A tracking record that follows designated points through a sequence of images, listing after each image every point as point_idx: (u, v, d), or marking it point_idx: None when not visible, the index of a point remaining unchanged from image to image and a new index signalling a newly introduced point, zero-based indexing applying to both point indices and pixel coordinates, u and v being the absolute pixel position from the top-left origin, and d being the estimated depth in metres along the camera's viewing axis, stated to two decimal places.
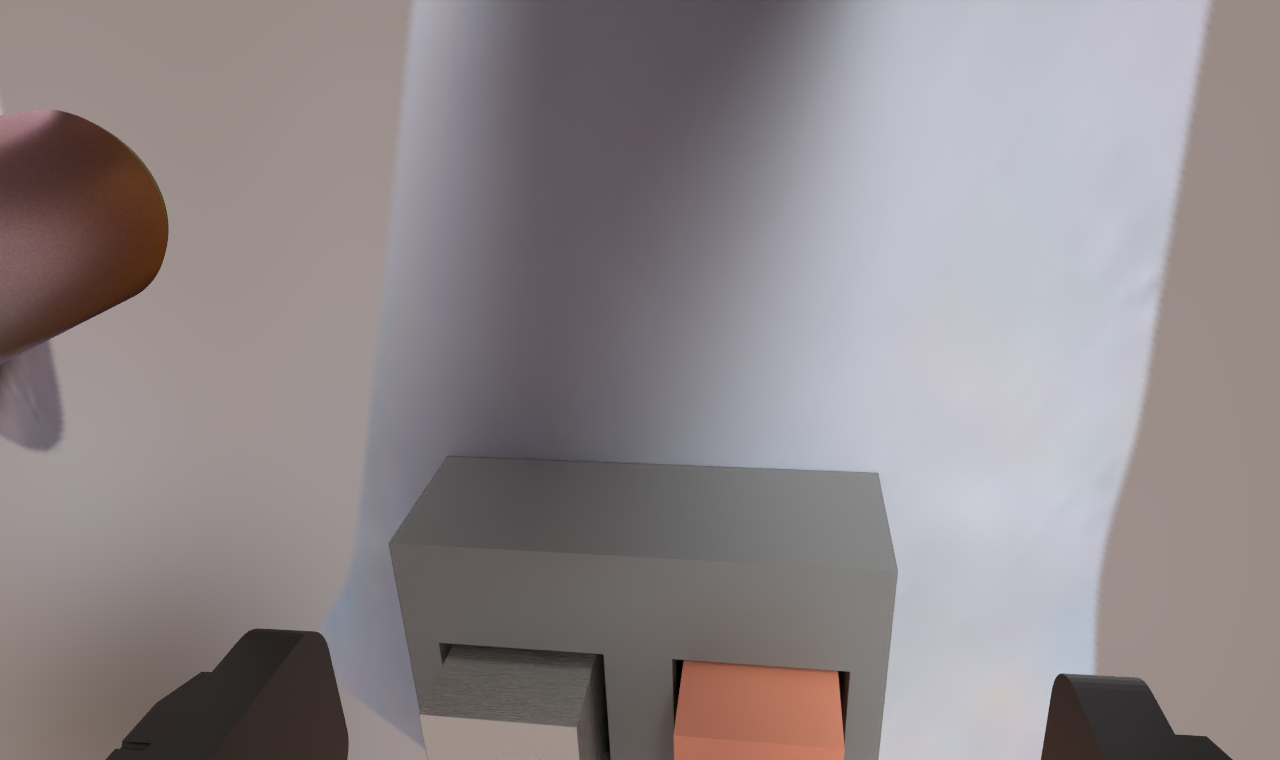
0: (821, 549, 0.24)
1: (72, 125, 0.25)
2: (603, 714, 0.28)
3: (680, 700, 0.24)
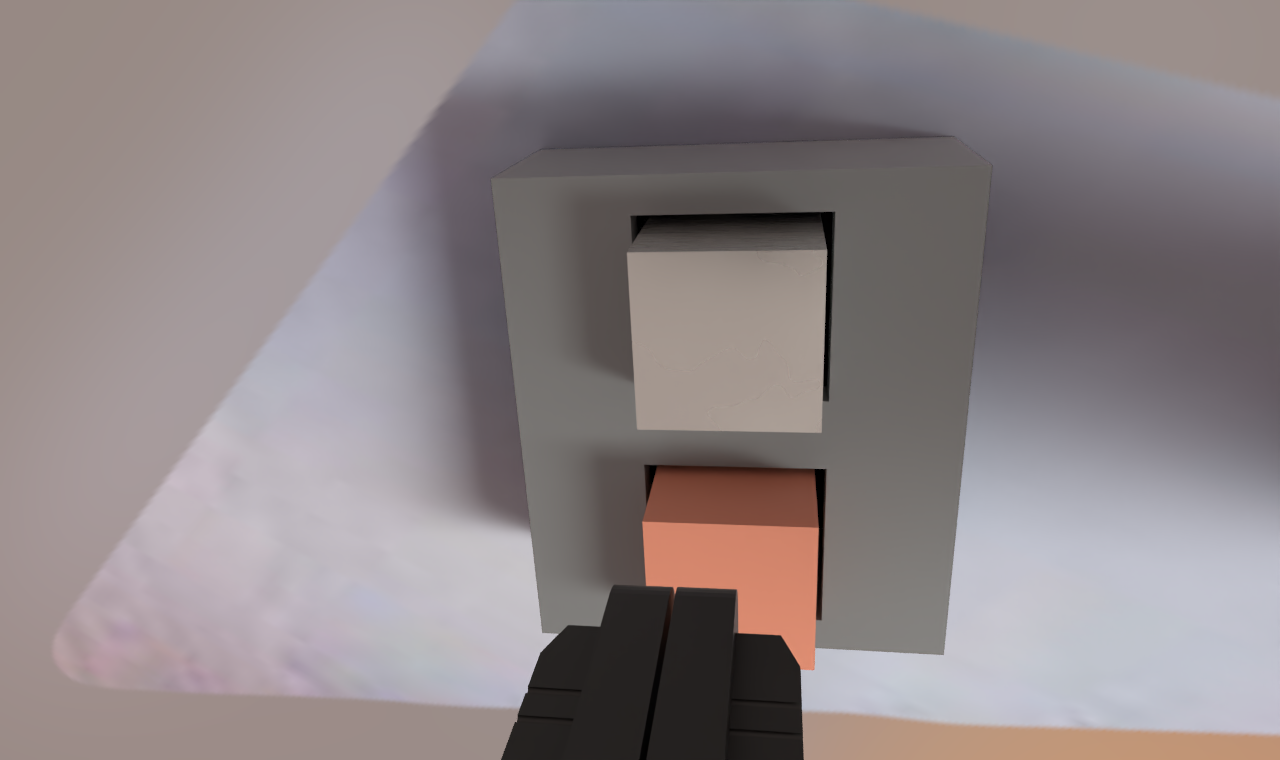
0: None
1: None
2: None
3: (816, 503, 0.23)
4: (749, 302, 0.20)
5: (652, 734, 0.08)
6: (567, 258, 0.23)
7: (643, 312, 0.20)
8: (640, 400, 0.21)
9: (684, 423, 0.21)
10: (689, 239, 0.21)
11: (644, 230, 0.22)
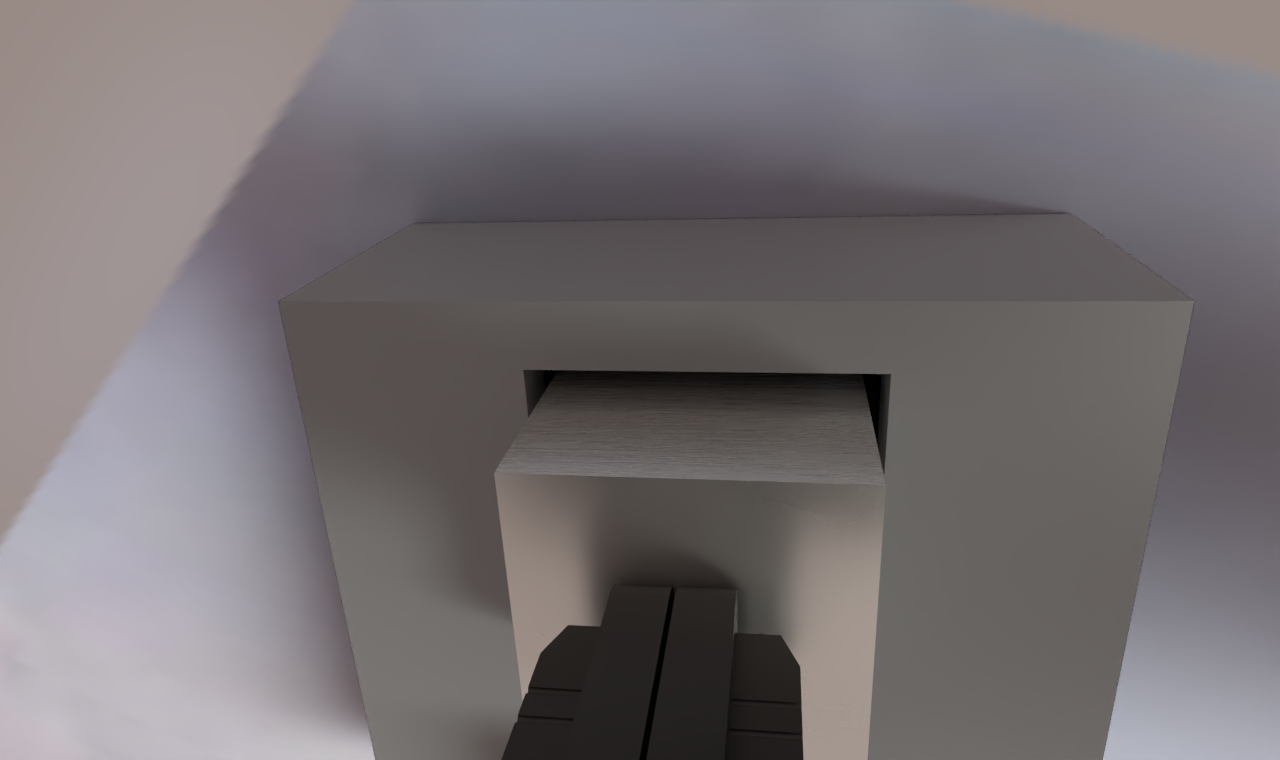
0: None
1: None
2: None
3: None
4: (730, 569, 0.10)
5: (652, 734, 0.08)
6: (419, 435, 0.13)
7: (531, 576, 0.11)
8: None
9: None
10: (621, 432, 0.11)
11: (547, 398, 0.12)
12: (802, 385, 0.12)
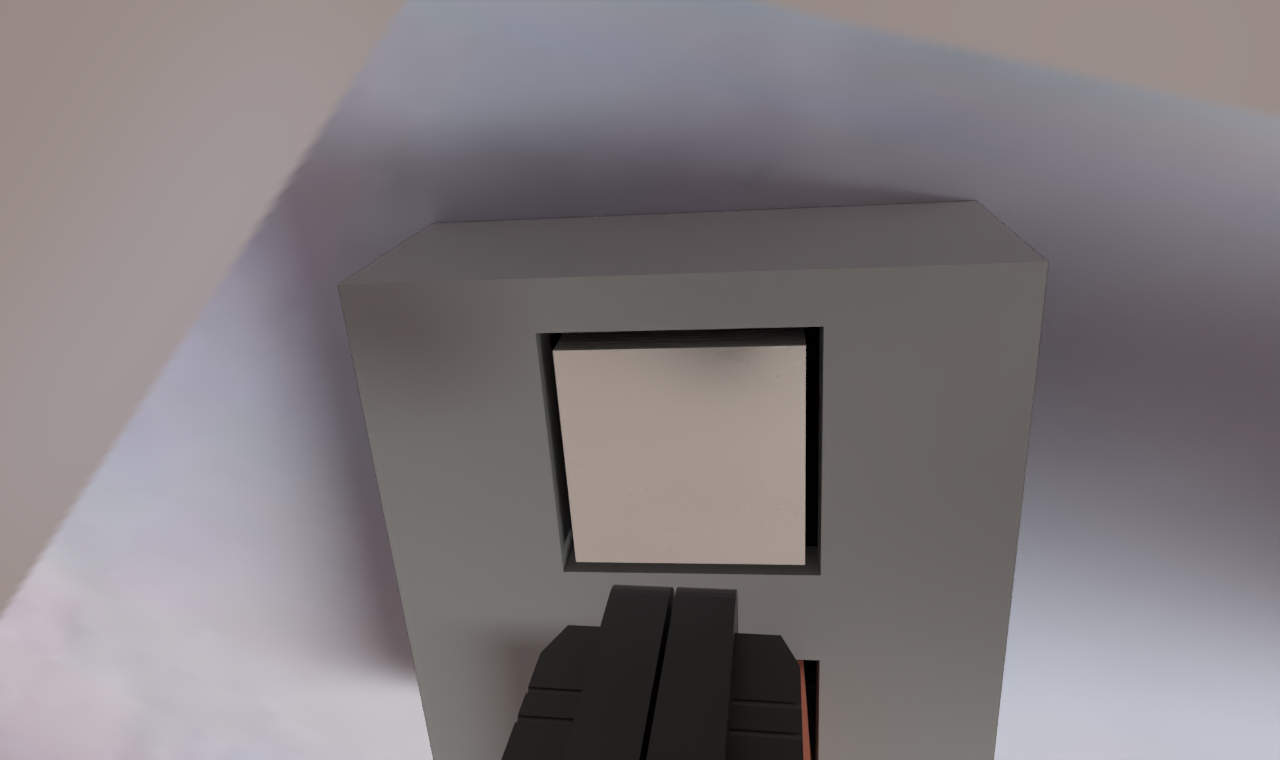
0: None
1: None
2: None
3: (807, 720, 0.17)
4: (709, 409, 0.16)
5: (652, 734, 0.08)
6: (451, 390, 0.16)
7: (577, 422, 0.16)
8: (578, 527, 0.17)
9: (634, 554, 0.17)
10: None
11: None
12: None
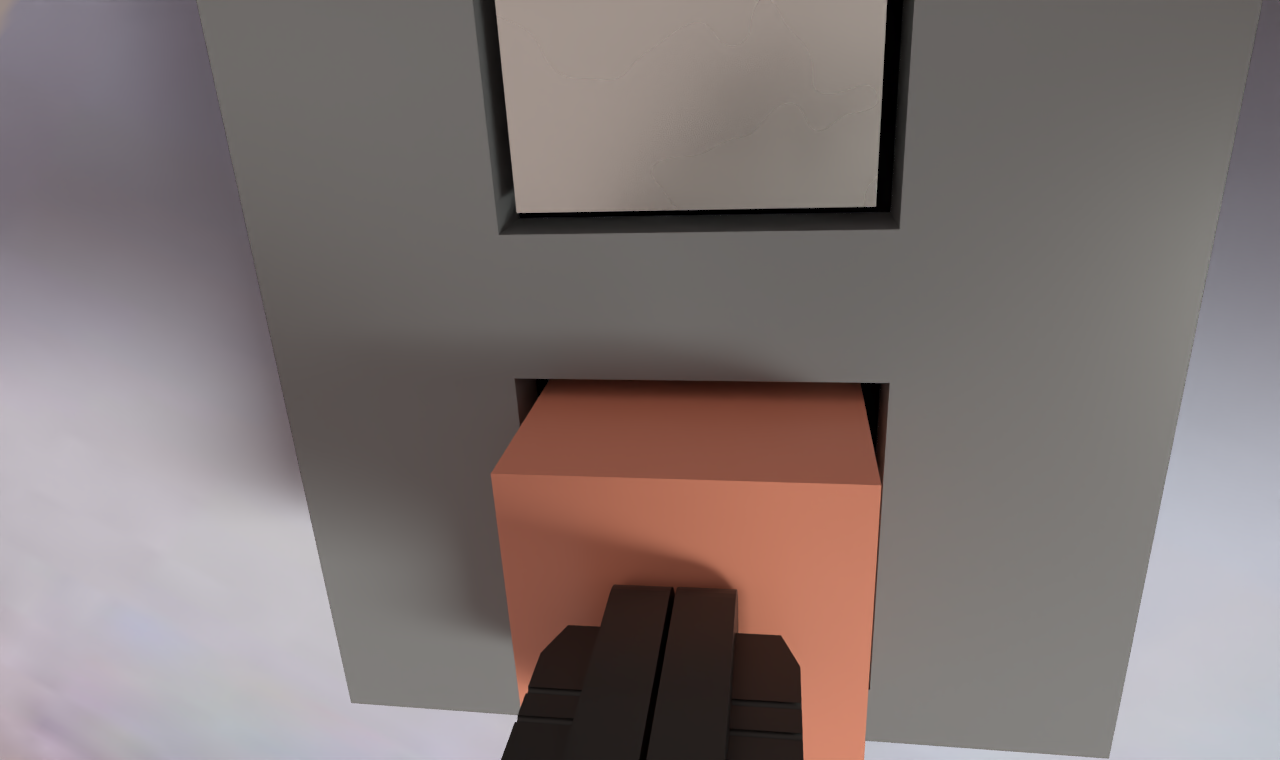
0: None
1: None
2: None
3: (869, 438, 0.11)
4: None
5: (651, 734, 0.08)
6: None
7: None
8: (520, 150, 0.11)
9: (606, 196, 0.11)
10: None
11: None
12: None
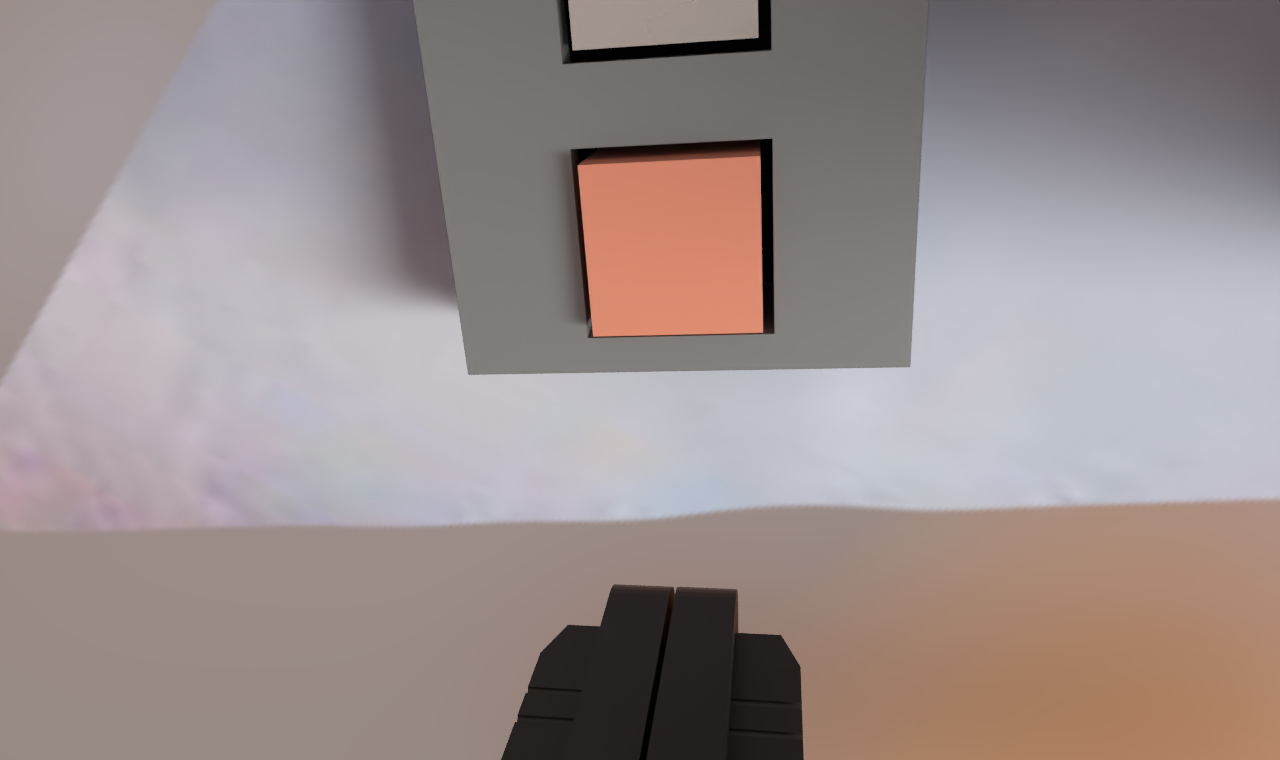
0: None
1: None
2: None
3: (759, 151, 0.22)
4: None
5: (652, 734, 0.08)
6: None
7: None
8: (574, 15, 0.21)
9: (620, 38, 0.21)
10: None
11: None
12: None
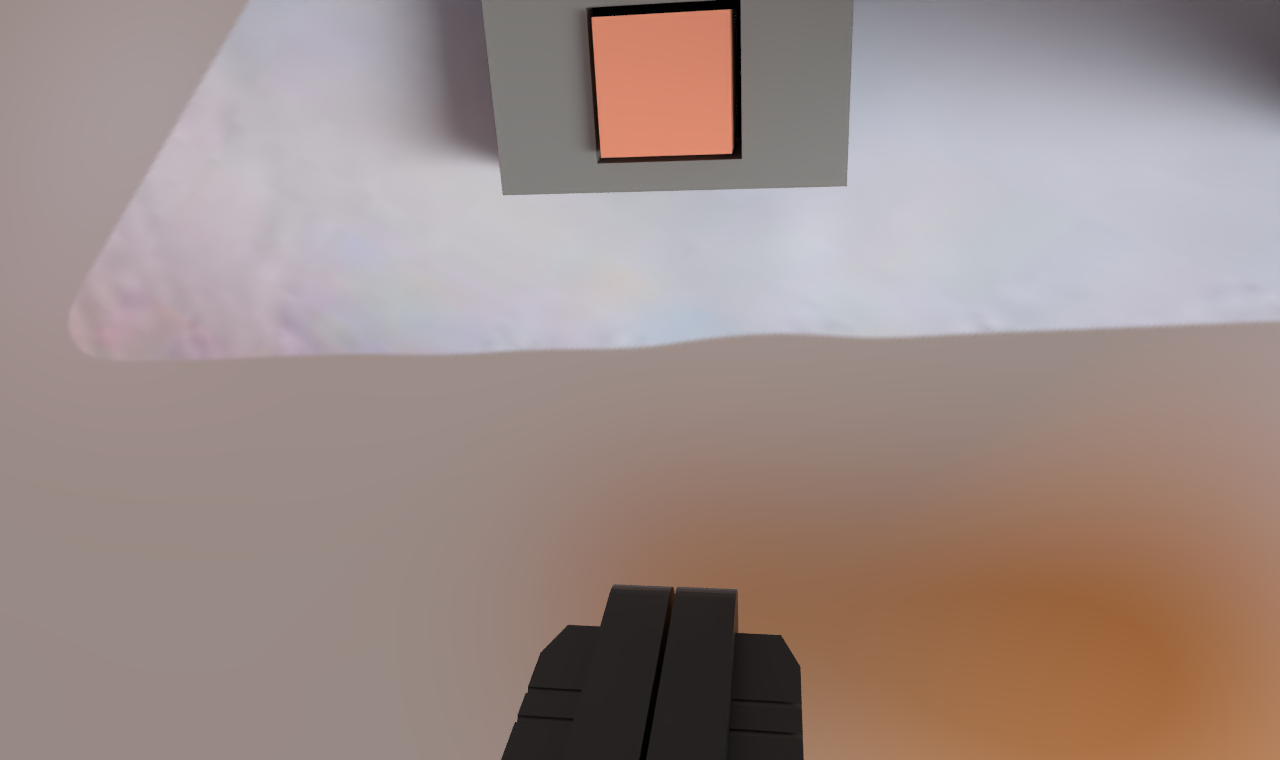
0: None
1: None
2: None
3: (731, 11, 0.29)
4: None
5: (652, 733, 0.08)
6: None
7: None
8: None
9: None
10: None
11: None
12: None
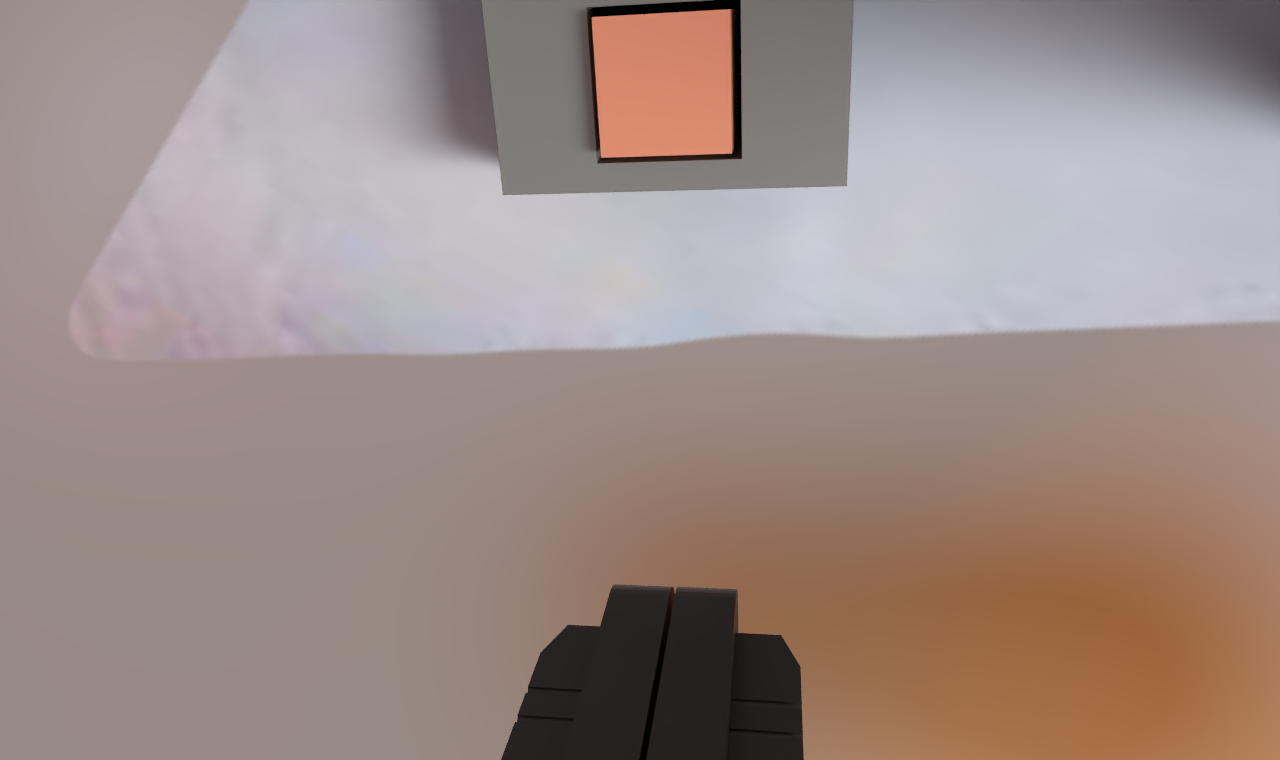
0: None
1: None
2: None
3: (731, 11, 0.29)
4: None
5: (652, 734, 0.08)
6: None
7: None
8: None
9: None
10: None
11: None
12: None
